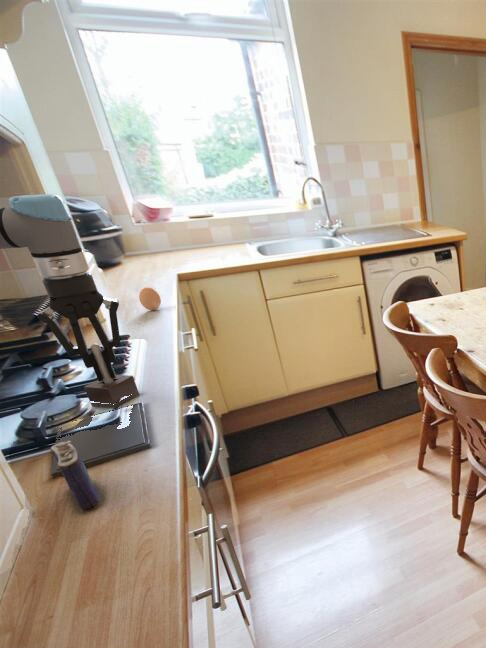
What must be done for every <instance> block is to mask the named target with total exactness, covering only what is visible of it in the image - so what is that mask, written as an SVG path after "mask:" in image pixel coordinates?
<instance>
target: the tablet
mask: <svg viewBox="0 0 486 648" xmlns="http://www.w3.org/2000/svg"><path fill="white" fill-rule="evenodd" d="M133 404H134V405H133ZM133 404H130V405H131V406H132V405H133V408H132V409H131V410H132V411H131V412H132V413H130V414H129V415H130V416H129V417H130V419H129V421H131V422H130V424H129V426H127V427H125V428H122V429H117V427H118V426H119V425H121V424H120V423H122V422H118V424H114V425H107V426H105V427H103V428H101V429H97V430H91V431H90V430H86V431H85V430H84V431H80V432H77V433H75V434H74V435H72V434H71V436H70V435H69V434H68V436H67V435H66V436H65V437H62V438H57V437H59V436H60V437H61V435H60V434H61V431H62V427H61V428H59V429H60V430H61V431H60V430H59V429H58V428H57V430H56V431H57V432H58V433H56V437H55V444H58V443H60V442H68V440H69V441H71V443H70V444H72V445H73V446H74V447H75V448H76V449H77V450H78V452H79V454H80V457H81V459H82V461H83V463H84V465H85V467H86V469H87V468H90V467H94V466H98V465H100V464H103V463H106V462H109V461H110V462H111V461H112V460H113V461H114V460H116V459H119V458H122V457H126V456H128V455H131V454H135V453H138V452H141V451H144V450H147V449H150V448H151V447H152V446H151V440H150V433H149V427H148V422H147V416H146V411H145V410H146V409H145V405H144V402H143V401H140V402H137V403H133ZM126 406H127V407H128V406H129V405H126ZM118 408H119V409H120V408H121V407H118ZM111 410H112V411H114V409H111ZM111 410H108V411H109V412H110V411H111ZM104 412H105V411H104ZM104 412H100V413H96V414H93V415H94V416H95V415H97V414H101V413H104ZM91 416H92V415H89V417H88V416H85V417H86V418H85V417H81V418H82V419H83V418H84V419H83V420H82V421H80V422H79V423H78V424H77V425H76V426H75V427H74V428H75V429H77V428H79V427H80V428H81V427H84V426H88V425H89V424H90V422H91V421H92V418H93V417H91ZM74 420H75V421H77V419H74ZM71 421H72V422H73V420H71ZM58 430H59V431H58ZM57 435H59V436H57ZM56 439H57V440H56ZM58 439H60V440H58ZM50 474H51V477H52V478H53V479H56V478H59V477H63V474H62V472H61V471H60V469H59V467H58V463H57V461H56V460H55V458H54V457H53V458H52V466H51V472H50Z"/></svg>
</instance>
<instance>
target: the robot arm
mask: <svg viewBox="0 0 486 648" xmlns="http://www.w3.org/2000/svg"><path fill="white" fill-rule="evenodd" d="M8 203H9V206H6V207H0V250H6V249H23V248H27V249H28V251H29V253H30V255H31V257H32V260H33V262H34V265H35V267H36V269H37V270H36V271H37V272H38V275H39V276H40V277H43V278H42V284H43V286H44V289H45V291H46V294H47V296H48V298H49V303H48V306H47V307H46V308H45V309H43V310H39V311H38V313H37V315H36V317H37V319H38V320H40V321H41V322H43V323H44V324H46V325H47V327H48V328H49V330H50V331H51V332H52V333H53V335H54V336H55V338H56V339H57V340H58V343H60V345H61V346H62V348H63V349H64V351H65V352H66V354H68V355H71V356H73V355H79V356H80V357H81V358H82V361H83V363H84V366H85V368H87V369H91V368H93V371H94V373H95V376H96V379H97V380H98V381H99V382H100V381H103V377H102V374H101V372H100V369H99V367H98V364H97V362H96V359H95V357H94V354H93V352H92V350H91V349H90V350H88V346H87V343H86V339H85V335H84V332H83V329H82V326H81V322H80V320H81V319H88V320H89V322H90V324H91V326H92V328H93V330H94V332H95V334H96V335H97V338H98V339H99V341H100V344H101V345H102V347H100V348H101V354H102V356H103V359H104V361H105V364H106V366H107V369H108V372H109V374H110V377H111V379H113V378H116V376H115V375H116V372H115V368H114V366H113V363H116V362H117V357H116V354H115V351H114V348H115V347H116V346H119V345H120V344H121V335H120V328H119V327H120V326H119V321H118V313H117V312H118V309H119V307H120V301H119V299H117V298H113V299H111V298H108V297H107V298H106V297H104V295H102V293H101V292H99V290H98V288H97V285H96V283H95V280H94V277H93V275H92V273H90V272H89V270H90V267H89V264H88V262H87V261H88V260H87V257H86V256H85V253H84V250H83V248H82V246H81V243H80V241H79V238H78V235H77V233H76V230H75V227H74V224H73V221H72V216H71V215H70V214H69V212H68V211H69V210H68V209H67V207H66V205H65V202H64V201H63V199H62V197H60V196H59V195H56V194H51V193H45V194H44V193H43V194H40V193H39V194H24V195H16V196H15V195H13V196H11V197H9V199H8ZM102 304H104V306H105V309H106V310H108V314H109V323H110V330H111V336H112V339H109V337H108V335H107V333H106V330H105V329H104V327H103V325H102V323H101V320H100V319H99V317H98V312H99V310H100V308H101V306H102ZM54 312H55V313H54ZM56 313H57V314H59V315H60V316H62V317H64V318H65V319H68V320H69V324H70V326H71V329H72V332H73V336H74V339H75V342H76V346H75V345H74V344H73V342H72V341H71V339H70V338H69V336H68V335H67V334H66V332H65V330H64V329H63V328H62V326H61V325H60V324H59V322H58V320H57V319H56Z"/></svg>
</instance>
